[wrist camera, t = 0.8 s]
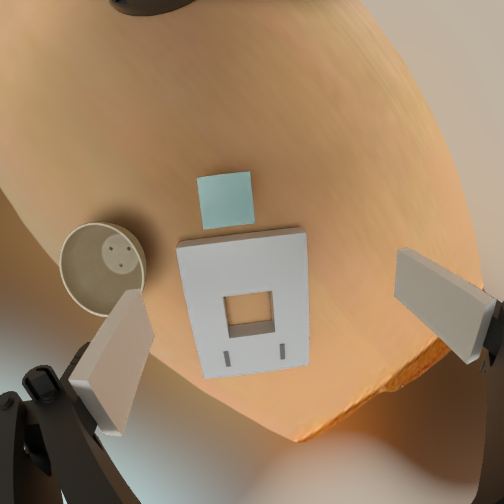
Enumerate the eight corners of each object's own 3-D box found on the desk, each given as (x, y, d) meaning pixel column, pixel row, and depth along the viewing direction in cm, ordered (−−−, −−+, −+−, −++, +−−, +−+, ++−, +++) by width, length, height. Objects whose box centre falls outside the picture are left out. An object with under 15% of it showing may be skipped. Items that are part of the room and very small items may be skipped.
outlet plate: (179, 241, 32) (175, 248, 29) (299, 226, 33) (306, 232, 30) (205, 365, 37) (204, 379, 34) (303, 352, 38) (309, 365, 35)
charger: (205, 175, 31) (196, 177, 21) (242, 171, 31) (249, 171, 21) (209, 211, 32) (203, 229, 22) (246, 207, 32) (255, 223, 22)
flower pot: (176, 257, 33) (164, 280, 26) (123, 304, 34) (104, 332, 27) (122, 194, 30) (97, 201, 23) (73, 247, 31) (44, 265, 24)
